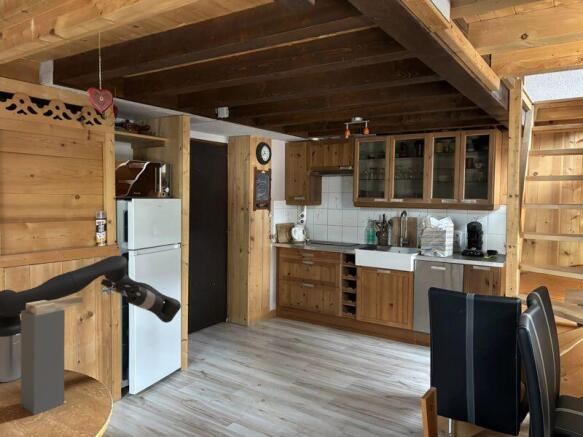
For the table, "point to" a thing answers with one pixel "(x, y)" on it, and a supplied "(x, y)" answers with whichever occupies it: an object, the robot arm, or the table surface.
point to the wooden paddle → (52, 304)
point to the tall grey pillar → (42, 360)
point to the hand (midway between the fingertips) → (108, 282)
